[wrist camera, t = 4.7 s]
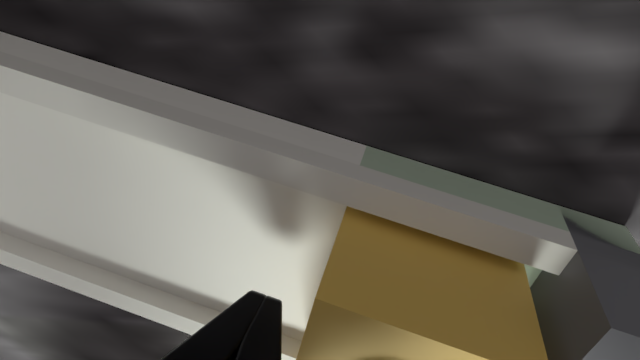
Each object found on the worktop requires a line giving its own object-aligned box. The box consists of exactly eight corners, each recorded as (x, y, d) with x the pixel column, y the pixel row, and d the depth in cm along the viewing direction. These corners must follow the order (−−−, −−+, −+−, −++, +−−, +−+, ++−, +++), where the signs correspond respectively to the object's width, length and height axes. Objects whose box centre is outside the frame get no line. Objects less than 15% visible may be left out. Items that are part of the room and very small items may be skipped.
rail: (490, 395, 13) (504, 529, 10) (-12, 214, 15) (-125, 283, 12) (625, 226, 9) (711, 361, 6) (-71, 9, 11) (-258, 36, 8)
